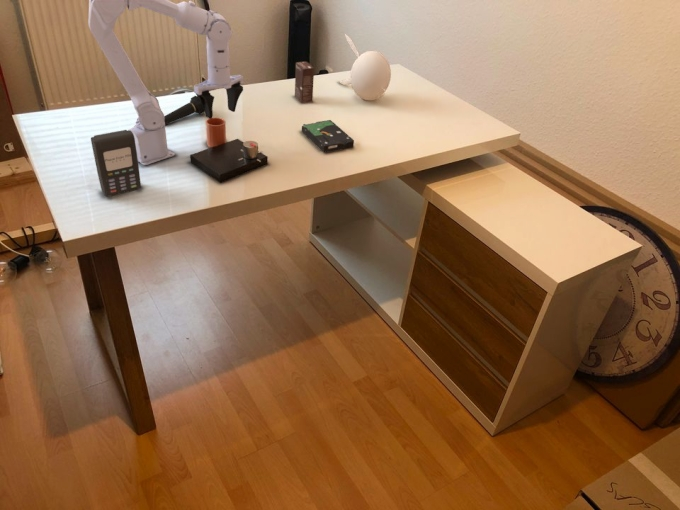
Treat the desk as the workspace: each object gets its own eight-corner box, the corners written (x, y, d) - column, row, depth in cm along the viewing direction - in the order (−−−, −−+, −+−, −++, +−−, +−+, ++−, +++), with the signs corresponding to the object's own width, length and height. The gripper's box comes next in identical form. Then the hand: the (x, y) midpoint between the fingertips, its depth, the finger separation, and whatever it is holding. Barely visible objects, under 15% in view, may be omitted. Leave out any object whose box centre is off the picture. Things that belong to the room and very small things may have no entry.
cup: (214, 150, 155) (213, 127, 151) (203, 143, 158) (202, 120, 153) (229, 145, 158) (229, 122, 154) (218, 138, 161) (217, 115, 157)
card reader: (105, 199, 131) (93, 142, 122) (99, 191, 134) (88, 135, 125) (143, 190, 136) (135, 134, 127) (137, 182, 138) (128, 127, 129)
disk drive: (354, 148, 165) (329, 127, 174) (355, 140, 163) (330, 118, 172) (323, 154, 160) (300, 131, 169) (324, 145, 158) (301, 123, 168)
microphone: (157, 139, 163) (210, 113, 174) (157, 125, 158) (211, 99, 170) (145, 128, 164) (198, 103, 175) (145, 113, 160) (199, 89, 171)
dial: (240, 154, 149) (239, 142, 147) (251, 150, 152) (251, 138, 150) (249, 160, 147) (249, 148, 145) (261, 156, 150) (261, 143, 148)
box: (293, 96, 190) (295, 62, 182) (305, 95, 192) (307, 61, 184) (300, 103, 186) (302, 68, 178) (312, 102, 188) (315, 67, 180)
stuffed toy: (407, 61, 182) (362, 28, 194) (375, 70, 175) (330, 35, 188) (396, 111, 195) (355, 77, 208) (366, 121, 189) (325, 85, 202)
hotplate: (223, 184, 142) (222, 175, 140) (190, 163, 149) (189, 154, 147) (271, 165, 152) (272, 156, 150) (239, 145, 159) (239, 137, 157)
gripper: (204, 74, 136) (207, 125, 144) (250, 64, 145) (250, 112, 153) (187, 65, 139) (191, 116, 148) (233, 55, 148) (234, 103, 157)
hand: (220, 113), depth 151 cm, fingers open, 7 cm apart
